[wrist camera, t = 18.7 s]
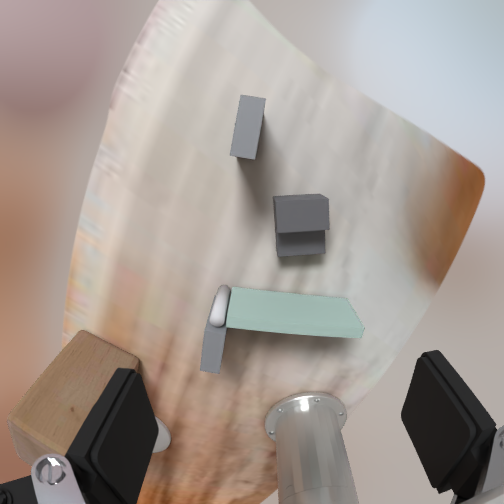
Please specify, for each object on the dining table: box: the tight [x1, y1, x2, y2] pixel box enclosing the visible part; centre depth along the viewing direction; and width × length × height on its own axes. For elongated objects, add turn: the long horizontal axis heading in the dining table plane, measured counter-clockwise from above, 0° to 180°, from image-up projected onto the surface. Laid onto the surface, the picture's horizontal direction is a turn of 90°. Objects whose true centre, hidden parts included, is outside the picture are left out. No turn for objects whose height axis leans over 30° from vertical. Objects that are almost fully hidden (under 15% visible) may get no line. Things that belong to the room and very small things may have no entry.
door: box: [210, 285, 365, 338], centre depth 32 cm, size 15×1×7 cm, turn 83°
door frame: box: [200, 95, 266, 374], centre depth 30 cm, size 26×2×8 cm, turn 170°
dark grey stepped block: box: [273, 194, 329, 257], centre depth 31 cm, size 6×5×4 cm
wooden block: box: [7, 330, 139, 466], centre depth 30 cm, size 10×10×20 cm
